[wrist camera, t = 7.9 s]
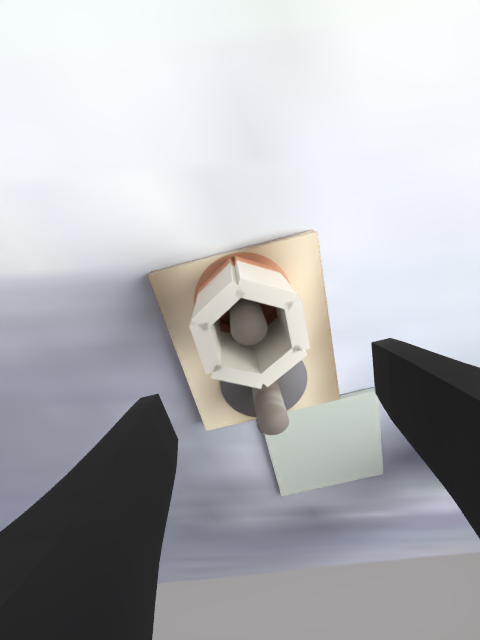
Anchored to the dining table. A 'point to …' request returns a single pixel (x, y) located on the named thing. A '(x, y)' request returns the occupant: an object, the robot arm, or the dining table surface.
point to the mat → (328, 444)
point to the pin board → (314, 316)
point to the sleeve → (283, 322)
